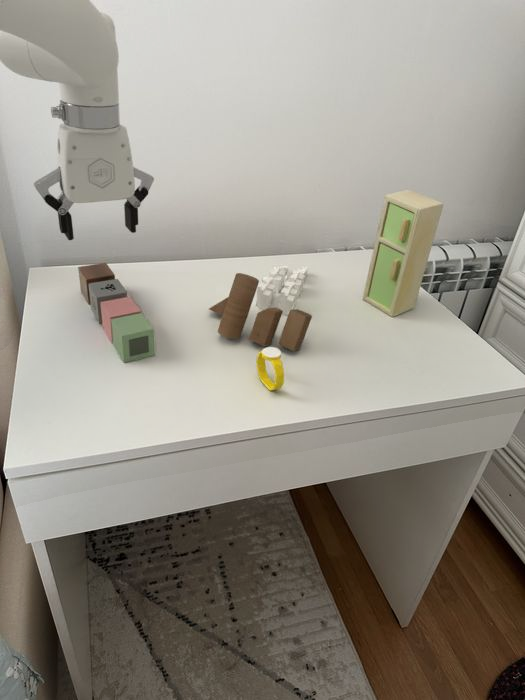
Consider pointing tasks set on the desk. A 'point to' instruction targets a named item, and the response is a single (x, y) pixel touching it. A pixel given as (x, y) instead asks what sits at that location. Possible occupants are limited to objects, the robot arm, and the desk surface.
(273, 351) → the watch
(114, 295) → the dice cube
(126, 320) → the green cube
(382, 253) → the toy refrigerator
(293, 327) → the wooden block set
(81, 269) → the brown cube
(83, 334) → the desk surface
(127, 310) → the plain pink block
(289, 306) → the modular blocks
